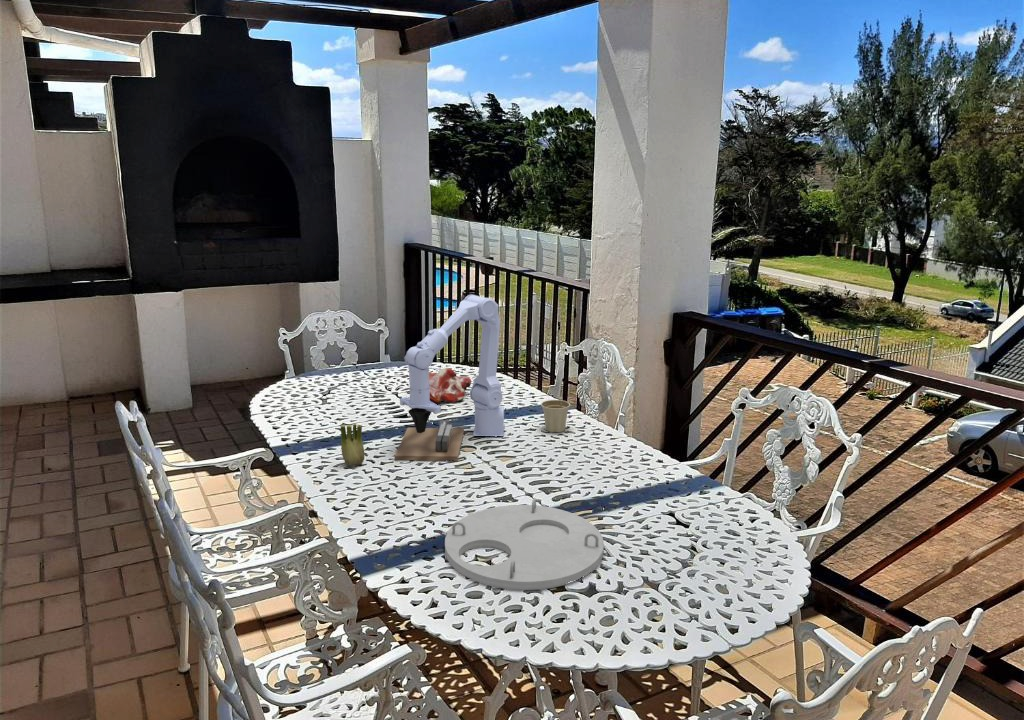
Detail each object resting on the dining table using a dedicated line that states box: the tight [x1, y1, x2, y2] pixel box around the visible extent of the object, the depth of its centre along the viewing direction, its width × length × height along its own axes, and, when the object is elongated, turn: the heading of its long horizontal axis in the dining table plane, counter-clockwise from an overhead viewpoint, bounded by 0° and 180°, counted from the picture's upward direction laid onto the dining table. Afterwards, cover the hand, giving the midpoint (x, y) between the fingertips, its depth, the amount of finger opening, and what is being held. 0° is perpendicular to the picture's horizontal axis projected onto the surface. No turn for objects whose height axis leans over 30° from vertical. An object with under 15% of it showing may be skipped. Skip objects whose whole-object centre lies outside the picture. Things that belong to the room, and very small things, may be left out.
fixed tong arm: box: [442, 424, 453, 452], centre depth 218 cm, size 15×2×3 cm, turn 179°
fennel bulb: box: [339, 423, 365, 467], centre depth 204 cm, size 6×5×12 cm
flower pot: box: [540, 399, 571, 433], centre depth 234 cm, size 9×9×9 cm
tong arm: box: [436, 419, 450, 452], centre depth 220 cm, size 19×3×3 cm, turn 0°
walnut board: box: [394, 427, 465, 462], centre depth 220 cm, size 18×24×2 cm
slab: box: [444, 498, 605, 591], centre depth 160 cm, size 35×35×5 cm
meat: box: [429, 367, 472, 405], centre depth 268 cm, size 21×21×10 cm
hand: (421, 431), depth 216 cm, fingers closed
